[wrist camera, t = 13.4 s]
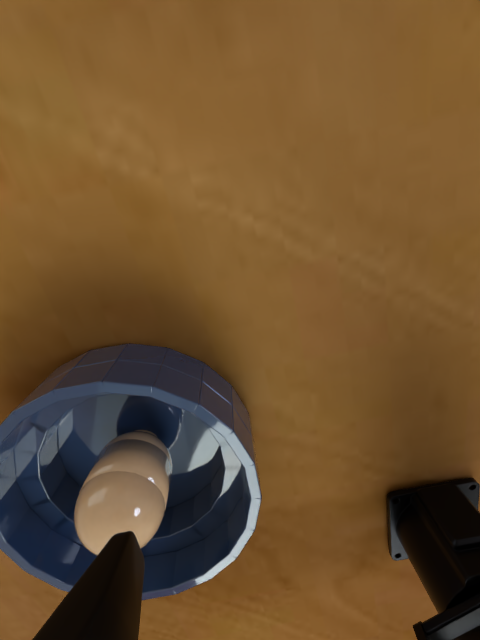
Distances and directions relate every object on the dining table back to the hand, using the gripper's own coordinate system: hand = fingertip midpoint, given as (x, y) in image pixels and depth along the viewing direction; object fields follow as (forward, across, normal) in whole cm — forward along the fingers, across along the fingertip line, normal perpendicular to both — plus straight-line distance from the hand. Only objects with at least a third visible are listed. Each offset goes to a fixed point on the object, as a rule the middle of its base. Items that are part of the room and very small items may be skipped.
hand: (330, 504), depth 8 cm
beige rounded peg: (+12, +9, +6) cm, 17 cm away
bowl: (+13, +9, +6) cm, 17 cm away
